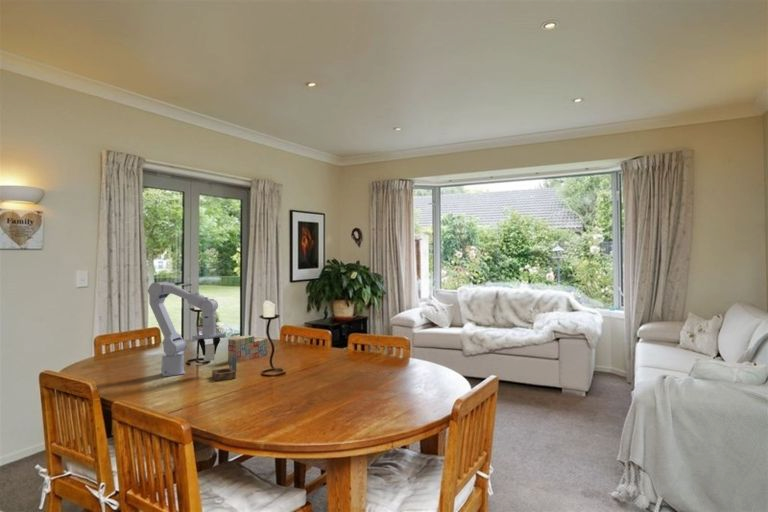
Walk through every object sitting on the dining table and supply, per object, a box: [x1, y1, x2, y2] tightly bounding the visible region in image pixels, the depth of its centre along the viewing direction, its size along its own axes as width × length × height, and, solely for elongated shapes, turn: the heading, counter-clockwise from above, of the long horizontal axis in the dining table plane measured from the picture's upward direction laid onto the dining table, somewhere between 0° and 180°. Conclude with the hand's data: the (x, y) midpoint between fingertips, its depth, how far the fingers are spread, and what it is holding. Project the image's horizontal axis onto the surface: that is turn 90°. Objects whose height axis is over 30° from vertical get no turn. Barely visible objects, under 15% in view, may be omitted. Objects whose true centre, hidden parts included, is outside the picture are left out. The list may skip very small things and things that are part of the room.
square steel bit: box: [203, 343, 215, 362], centre depth 202 cm, size 4×4×7 cm
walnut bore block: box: [211, 367, 237, 382], centre depth 197 cm, size 8×8×3 cm
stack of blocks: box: [227, 334, 268, 364], centre depth 234 cm, size 21×6×12 cm, turn 148°
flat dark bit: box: [228, 355, 237, 373], centre depth 208 cm, size 2×6×7 cm, turn 32°
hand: (209, 354), depth 202 cm, fingers closed on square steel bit, 4 cm apart
